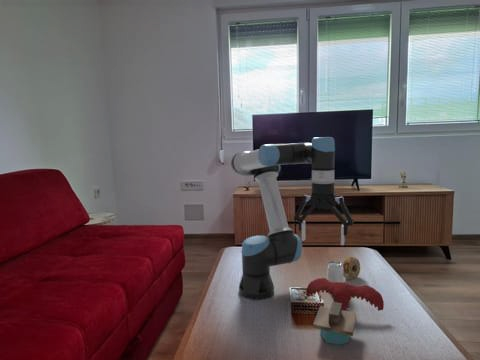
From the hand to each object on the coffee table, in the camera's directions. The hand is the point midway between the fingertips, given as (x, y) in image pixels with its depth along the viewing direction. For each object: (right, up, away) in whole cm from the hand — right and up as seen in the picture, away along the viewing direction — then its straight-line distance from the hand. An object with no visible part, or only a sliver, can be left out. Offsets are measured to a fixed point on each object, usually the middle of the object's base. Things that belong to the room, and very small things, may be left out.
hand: (322, 241), depth 113 cm
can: (+12, -26, +24) cm, 37 cm away
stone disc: (+23, -24, +35) cm, 48 cm away
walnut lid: (+2, -25, -8) cm, 26 cm away
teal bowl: (+2, -30, -7) cm, 31 cm away
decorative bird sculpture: (+9, -28, +7) cm, 30 cm away
